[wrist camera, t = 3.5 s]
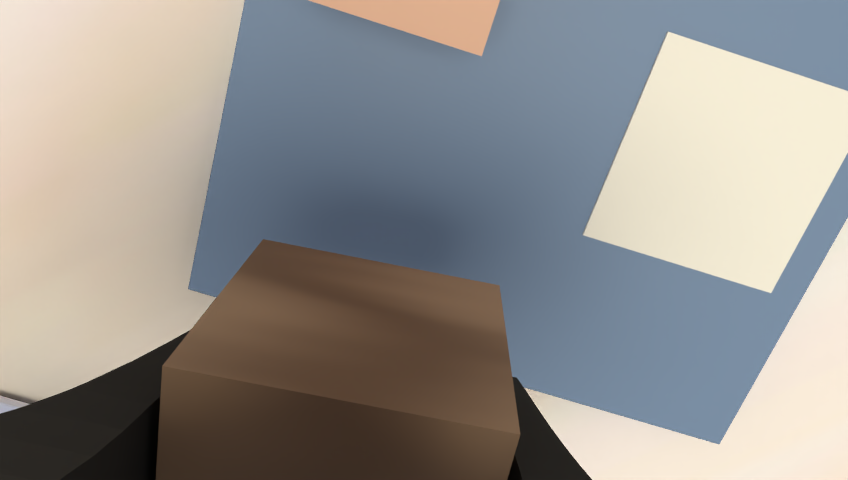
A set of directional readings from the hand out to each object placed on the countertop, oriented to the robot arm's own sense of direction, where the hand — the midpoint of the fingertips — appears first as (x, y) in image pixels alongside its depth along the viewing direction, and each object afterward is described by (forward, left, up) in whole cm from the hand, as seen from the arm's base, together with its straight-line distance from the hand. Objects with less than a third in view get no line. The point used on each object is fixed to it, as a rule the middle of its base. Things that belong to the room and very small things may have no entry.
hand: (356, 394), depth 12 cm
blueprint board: (+3, +3, -9) cm, 10 cm away
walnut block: (0, 0, -1) cm, 1 cm away
